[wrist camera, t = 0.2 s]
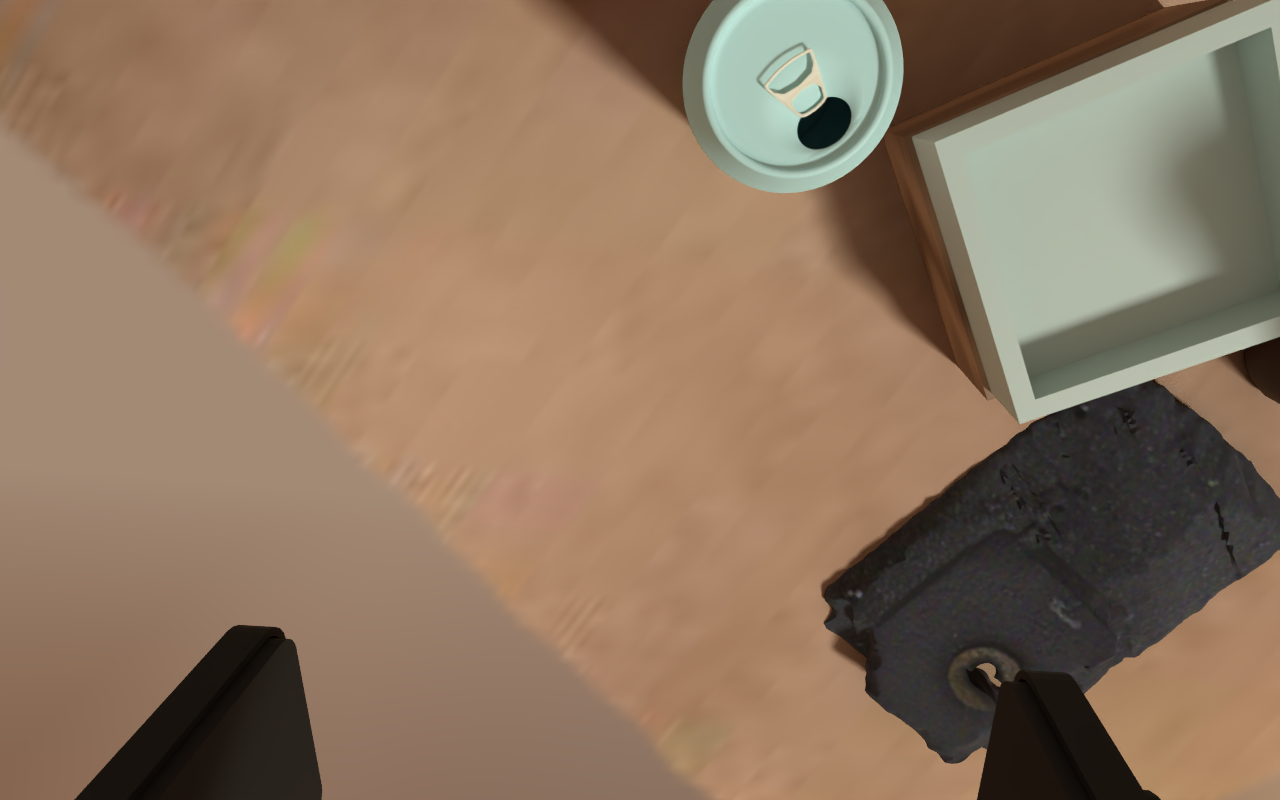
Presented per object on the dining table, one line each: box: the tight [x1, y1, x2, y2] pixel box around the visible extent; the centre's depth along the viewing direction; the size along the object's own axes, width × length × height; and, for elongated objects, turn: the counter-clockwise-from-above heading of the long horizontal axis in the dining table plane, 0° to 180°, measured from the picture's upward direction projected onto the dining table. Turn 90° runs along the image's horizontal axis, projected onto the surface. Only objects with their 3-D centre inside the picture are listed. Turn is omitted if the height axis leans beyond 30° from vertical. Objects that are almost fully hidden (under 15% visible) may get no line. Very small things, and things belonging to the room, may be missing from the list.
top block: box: [912, 0, 1280, 424], centre depth 30 cm, size 12×12×4 cm
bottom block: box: [883, 0, 1233, 400], centre depth 34 cm, size 12×12×5 cm
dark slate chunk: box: [824, 380, 1280, 764], centre depth 41 cm, size 15×22×5 cm
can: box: [682, 0, 903, 193], centre depth 30 cm, size 7×7×12 cm
